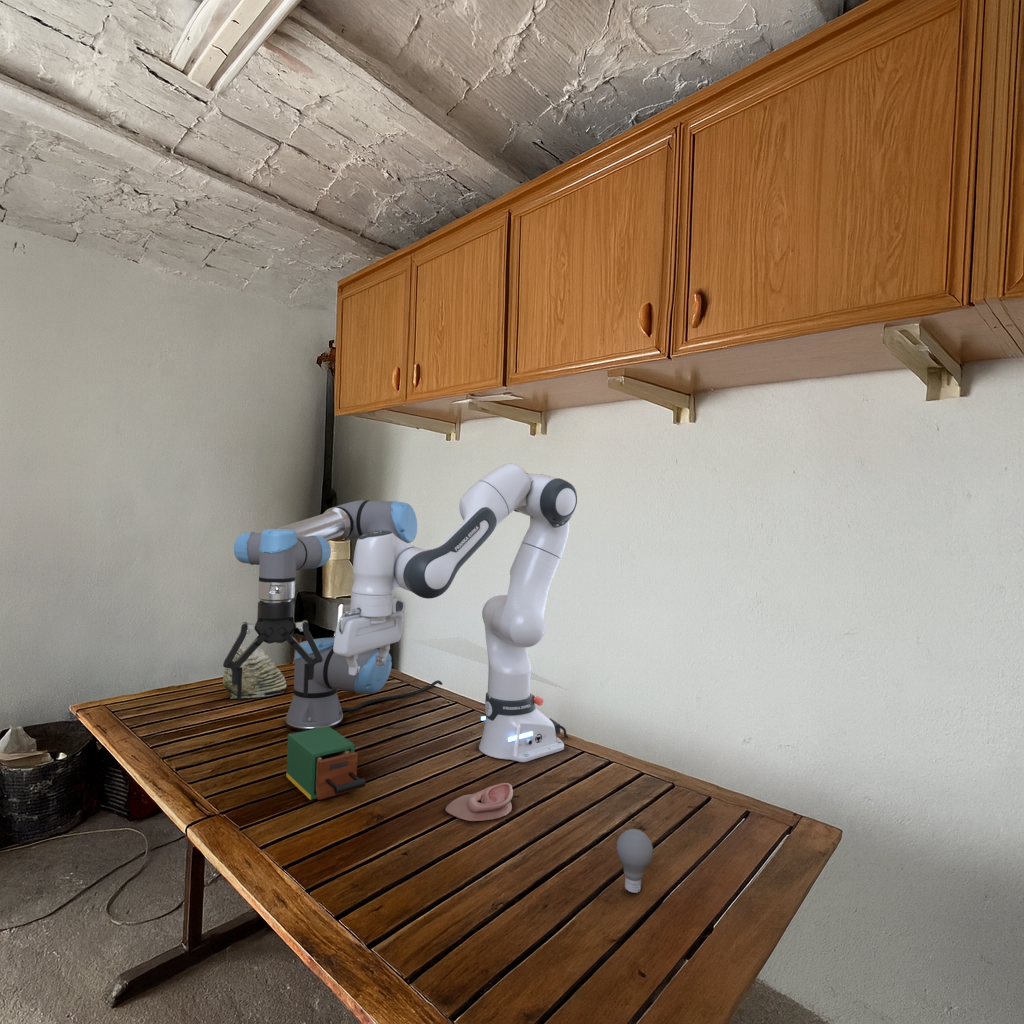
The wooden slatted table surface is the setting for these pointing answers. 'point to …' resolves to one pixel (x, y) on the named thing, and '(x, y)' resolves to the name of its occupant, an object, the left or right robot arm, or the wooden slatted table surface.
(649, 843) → the light bulb
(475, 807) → the anatomical model
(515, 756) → the right robot arm
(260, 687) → the fossil
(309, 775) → the cabinet
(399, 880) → the wooden slatted table surface
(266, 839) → the wooden slatted table surface
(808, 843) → the wooden slatted table surface
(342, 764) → the drawer
